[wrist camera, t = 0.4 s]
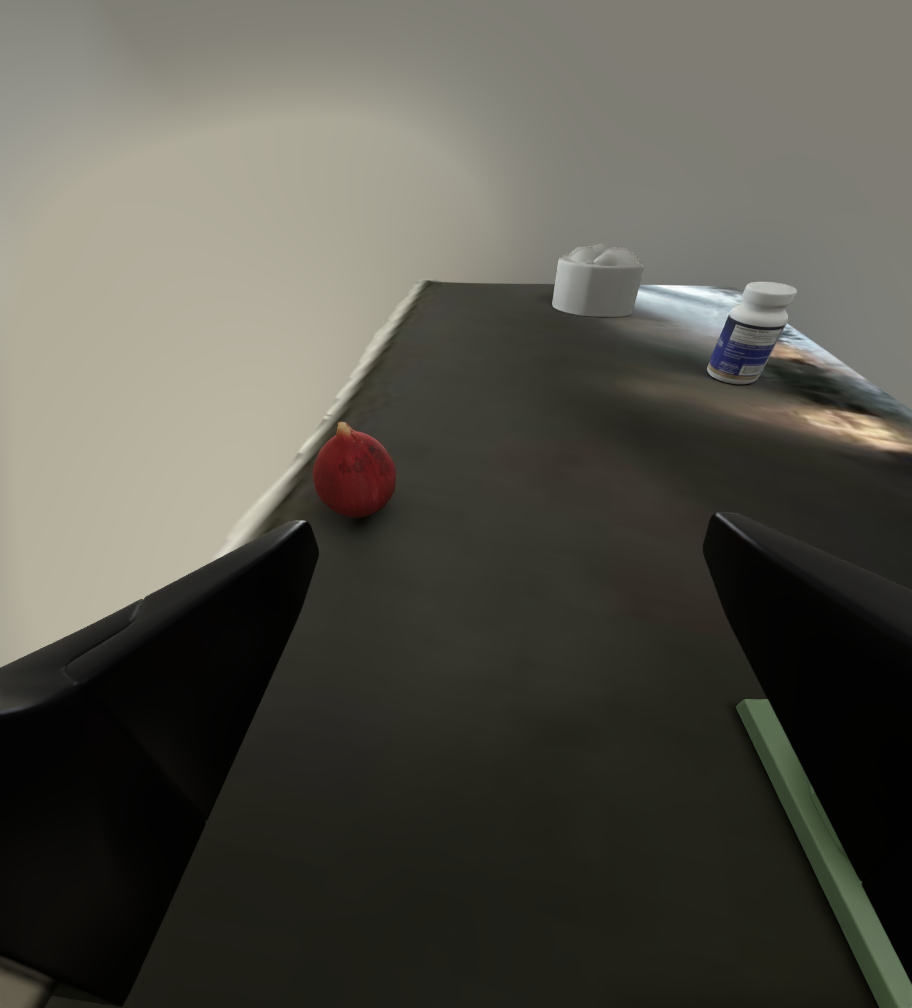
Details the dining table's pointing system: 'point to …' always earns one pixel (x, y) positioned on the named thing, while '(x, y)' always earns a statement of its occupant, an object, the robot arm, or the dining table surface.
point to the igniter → (827, 857)
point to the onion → (354, 473)
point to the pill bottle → (751, 333)
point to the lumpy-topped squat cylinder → (597, 281)
